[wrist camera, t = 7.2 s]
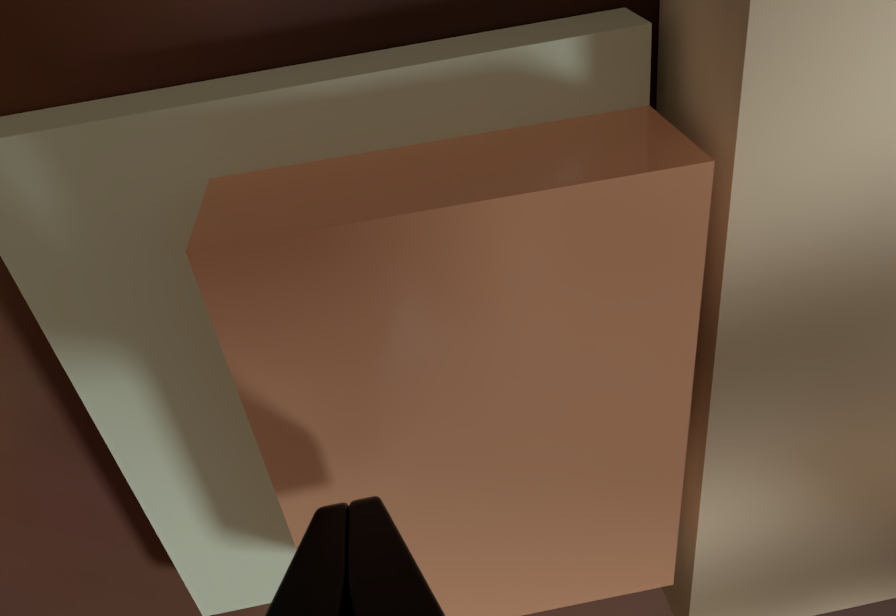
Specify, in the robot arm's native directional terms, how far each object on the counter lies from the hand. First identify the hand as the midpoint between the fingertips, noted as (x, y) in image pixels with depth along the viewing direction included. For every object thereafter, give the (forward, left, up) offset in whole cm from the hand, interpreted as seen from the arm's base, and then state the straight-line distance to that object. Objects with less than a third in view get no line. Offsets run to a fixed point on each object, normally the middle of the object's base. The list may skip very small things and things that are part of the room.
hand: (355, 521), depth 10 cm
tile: (0, -2, -3) cm, 3 cm away
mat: (0, 0, -4) cm, 4 cm away
